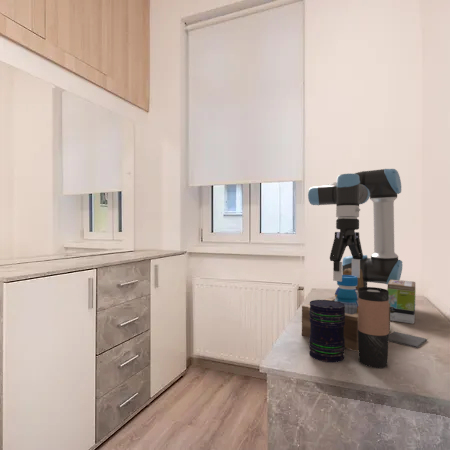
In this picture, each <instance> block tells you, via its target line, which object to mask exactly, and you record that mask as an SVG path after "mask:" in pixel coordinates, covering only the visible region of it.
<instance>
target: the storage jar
mask: <svg viewBox="0 0 450 450" xmlns="http://www.w3.org/2000/svg"><path fill="white" fill-rule="evenodd" d="M309 304H310V311H309V315H310V318H309V319H310V337H308V338H309V340H308V346H309V351H308V354H309V356H310V357H311V358H313V359H314V360H317V361H318V362H323V363H331V364H332V363H334V364H335V363H340V362H344V361H345V350H346V348H345V339H344V325H345V310H344V309H345V305H344V304H343V303H341V302H337V301H331V300H324V299H315V300H311V301H309Z"/></svg>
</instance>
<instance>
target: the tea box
mask: <svg viewBox="0 0 450 450" xmlns="http://www.w3.org/2000/svg"><path fill="white" fill-rule="evenodd" d="M386 290H388V292H389V303H390V321H392V322H398V323H399V322H400V323H406V324H413V325H414V323H415V320H416V319H415V318H416V316H415V315H416V281H410V280H409V281H408V280H401V279H400V280H390V281H389V283H388V284H387V288H386Z"/></svg>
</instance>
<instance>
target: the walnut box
mask: <svg viewBox="0 0 450 450" xmlns="http://www.w3.org/2000/svg"><path fill="white" fill-rule="evenodd" d="M335 299H336V297H335V295H334V296H332V297H328V298H325V299H323V300H331V301H335ZM309 311H310V303H307V304H304V305H302V306H301V336H304V337H305V338H306V337H307V338H309V337H310V319H309V318H310V315H309ZM390 332H391V320H390V303H389V333H390ZM344 339H345V349H347V350H351V351H355V352H359V350H358V313H355V314H353V315H352V314H347V313H345V325H344Z"/></svg>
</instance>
